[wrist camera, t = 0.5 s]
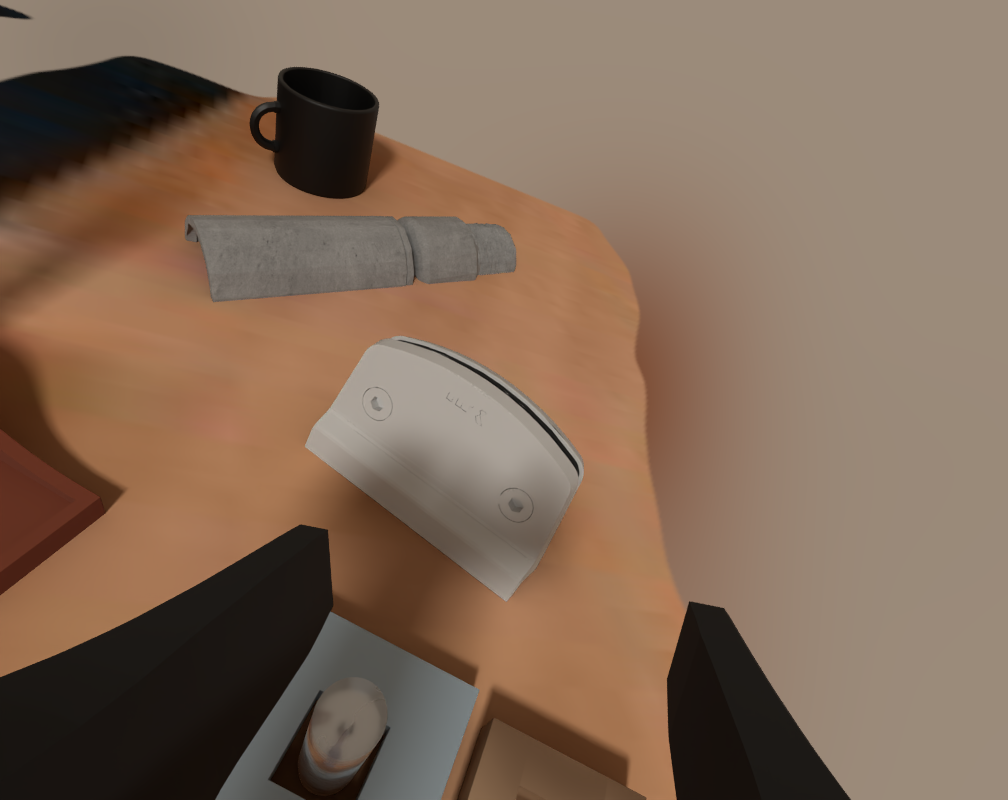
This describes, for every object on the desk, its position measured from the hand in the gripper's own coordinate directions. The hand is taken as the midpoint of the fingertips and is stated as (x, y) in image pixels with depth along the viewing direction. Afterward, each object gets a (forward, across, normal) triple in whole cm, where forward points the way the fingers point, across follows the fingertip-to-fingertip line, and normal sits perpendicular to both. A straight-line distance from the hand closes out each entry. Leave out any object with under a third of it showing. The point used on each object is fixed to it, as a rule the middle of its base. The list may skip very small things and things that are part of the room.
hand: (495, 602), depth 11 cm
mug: (+49, +31, -5) cm, 58 cm away
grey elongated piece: (+41, +21, +2) cm, 46 cm away
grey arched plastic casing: (+21, +8, +12) cm, 26 cm away
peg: (+6, +8, +17) cm, 19 cm away
